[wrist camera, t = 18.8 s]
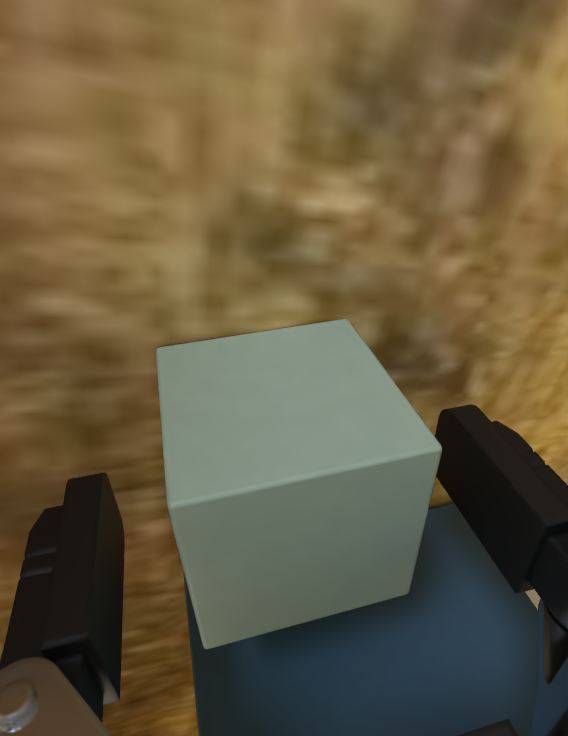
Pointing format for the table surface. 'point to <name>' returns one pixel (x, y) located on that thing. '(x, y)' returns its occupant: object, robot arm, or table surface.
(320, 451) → the block
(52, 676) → the robot arm
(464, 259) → the table surface
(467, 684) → the shelf
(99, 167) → the table surface
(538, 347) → the table surface
